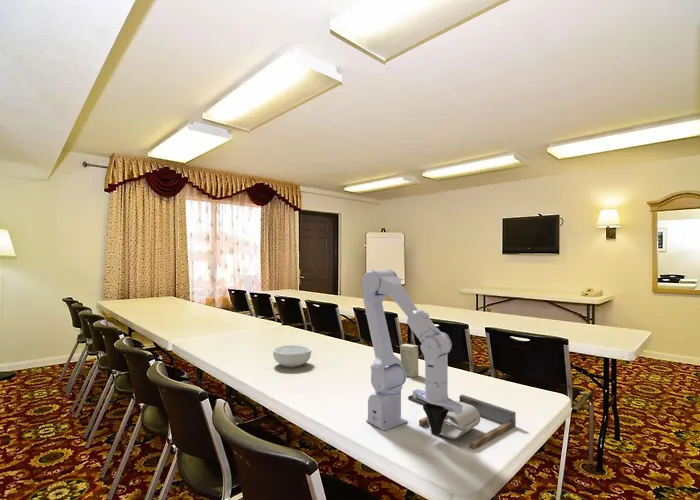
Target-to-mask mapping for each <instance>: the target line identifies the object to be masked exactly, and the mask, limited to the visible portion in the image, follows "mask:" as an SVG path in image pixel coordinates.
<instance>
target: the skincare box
mask: <svg viewBox="0 0 700 500" xmlns="http://www.w3.org/2000/svg"><path fill="white" fill-rule="evenodd" d="M399 350H400V361H401V365H402V367H403V368H404V370H405V372H406V377H410V378H415V377H417V376H419V374H420V373H419V345H416V344H411V343H403V344H400V347H399Z"/></svg>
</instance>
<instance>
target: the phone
mask: <svg viewBox="0 0 700 500" xmlns="http://www.w3.org/2000/svg"><path fill="white" fill-rule="evenodd" d="M407 399H408V401H410V402H412V403H415V404H419V405H421V406H423V405H426V401H424V400H421V399H418V398H413V394H411V395H408V397H407Z"/></svg>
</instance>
